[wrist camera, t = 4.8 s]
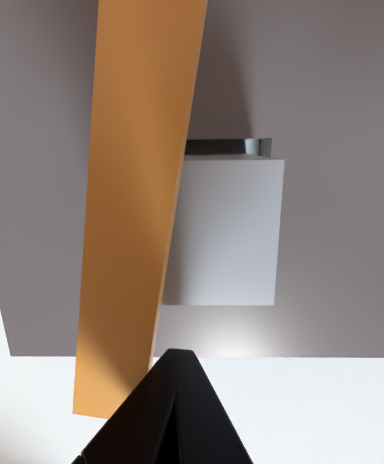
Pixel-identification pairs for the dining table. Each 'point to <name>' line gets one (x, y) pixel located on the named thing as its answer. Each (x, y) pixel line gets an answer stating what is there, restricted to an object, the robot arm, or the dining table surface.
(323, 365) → the dining table surface
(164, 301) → the plug
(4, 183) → the socket board
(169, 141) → the long orange beam
